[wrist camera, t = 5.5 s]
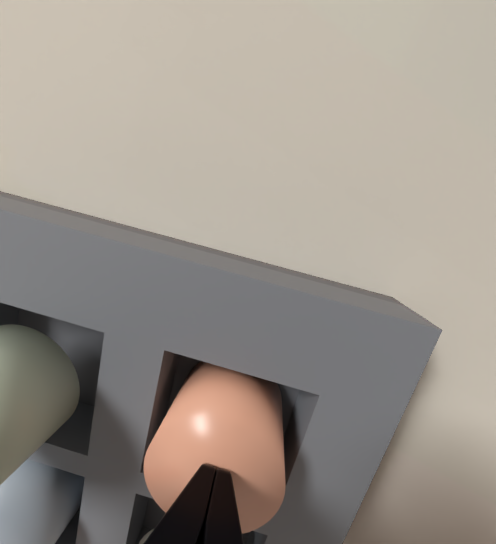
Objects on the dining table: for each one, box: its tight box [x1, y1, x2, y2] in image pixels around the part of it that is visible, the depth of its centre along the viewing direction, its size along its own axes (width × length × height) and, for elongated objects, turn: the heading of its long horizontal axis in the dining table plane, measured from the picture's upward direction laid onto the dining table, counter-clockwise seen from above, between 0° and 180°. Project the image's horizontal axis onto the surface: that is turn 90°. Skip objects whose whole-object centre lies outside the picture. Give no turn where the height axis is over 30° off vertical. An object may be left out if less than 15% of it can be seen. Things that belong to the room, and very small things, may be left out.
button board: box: [0, 191, 442, 544], centre depth 11 cm, size 17×19×3 cm
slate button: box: [0, 459, 85, 544], centre depth 10 cm, size 4×4×3 cm
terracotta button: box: [144, 361, 286, 534], centre depth 9 cm, size 4×4×3 cm
